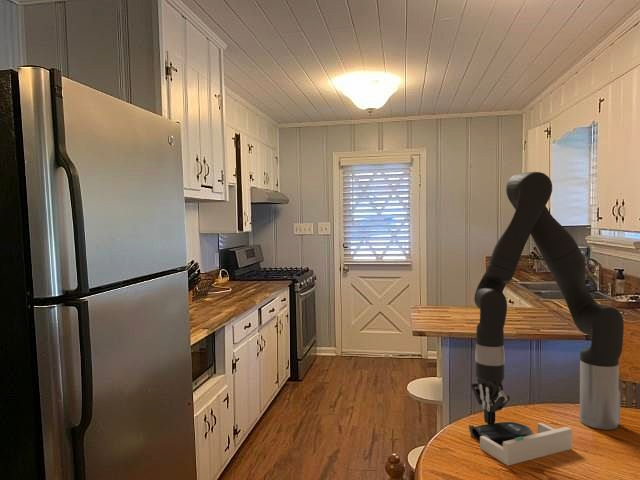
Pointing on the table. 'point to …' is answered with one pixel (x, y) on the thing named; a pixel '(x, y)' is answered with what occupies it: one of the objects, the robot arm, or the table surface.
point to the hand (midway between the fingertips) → (489, 423)
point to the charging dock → (529, 445)
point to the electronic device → (500, 431)
